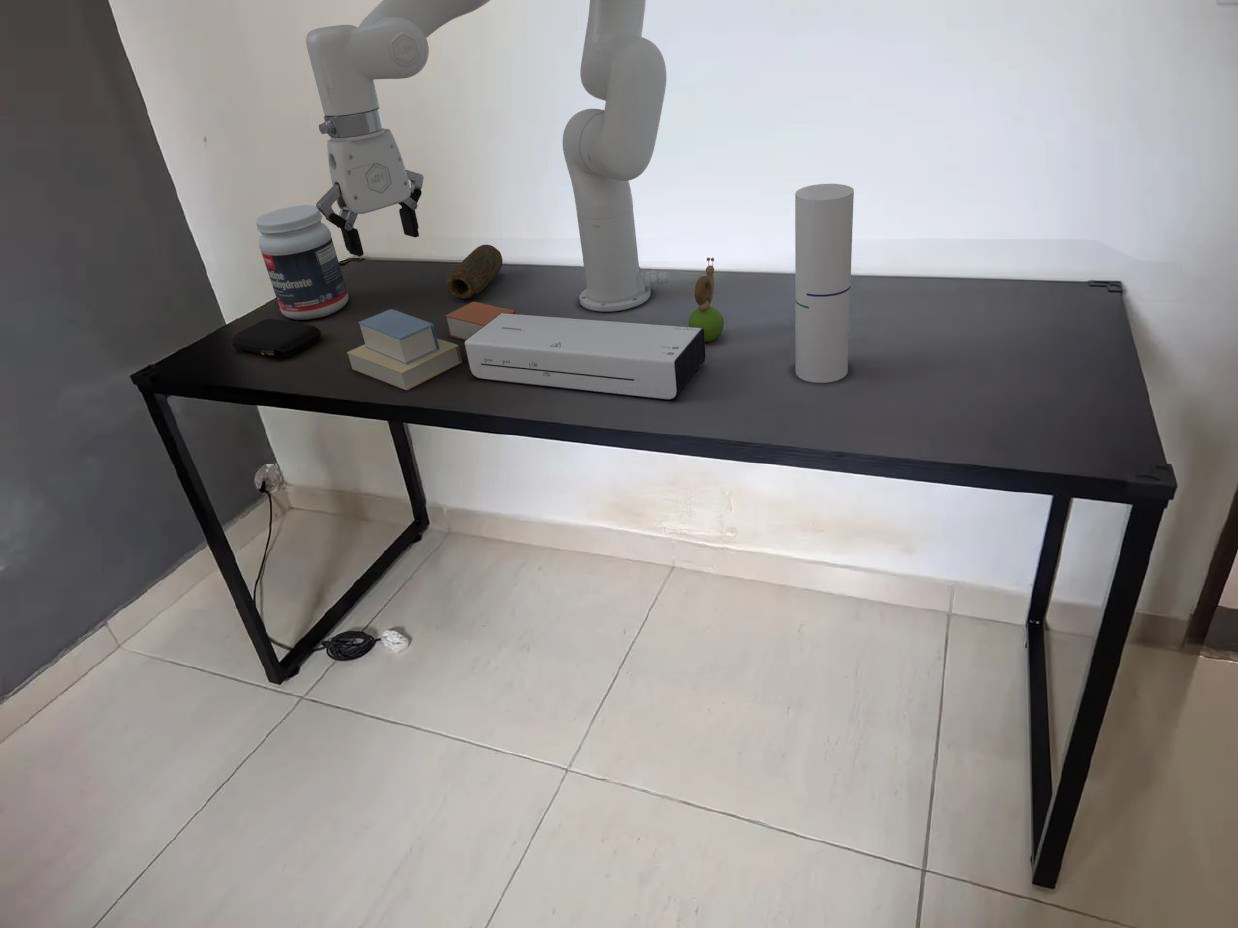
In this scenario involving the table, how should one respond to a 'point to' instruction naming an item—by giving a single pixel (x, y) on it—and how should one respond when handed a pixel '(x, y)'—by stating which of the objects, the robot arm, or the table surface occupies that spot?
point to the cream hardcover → (403, 373)
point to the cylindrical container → (822, 281)
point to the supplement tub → (301, 262)
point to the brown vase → (475, 272)
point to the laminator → (586, 355)
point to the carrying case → (276, 337)
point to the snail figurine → (706, 307)
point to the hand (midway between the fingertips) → (384, 245)
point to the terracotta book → (472, 318)
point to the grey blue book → (399, 336)
